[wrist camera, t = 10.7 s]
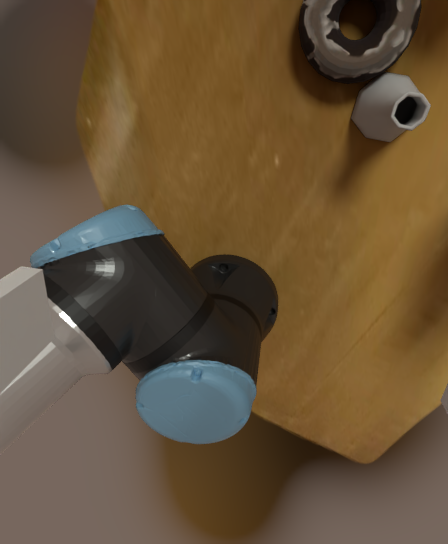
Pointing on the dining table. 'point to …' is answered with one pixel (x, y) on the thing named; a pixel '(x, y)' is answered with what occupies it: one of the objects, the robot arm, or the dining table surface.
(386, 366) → the dining table surface
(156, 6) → the dining table surface
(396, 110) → the flask
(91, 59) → the dining table surface
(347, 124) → the dining table surface
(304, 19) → the donut
